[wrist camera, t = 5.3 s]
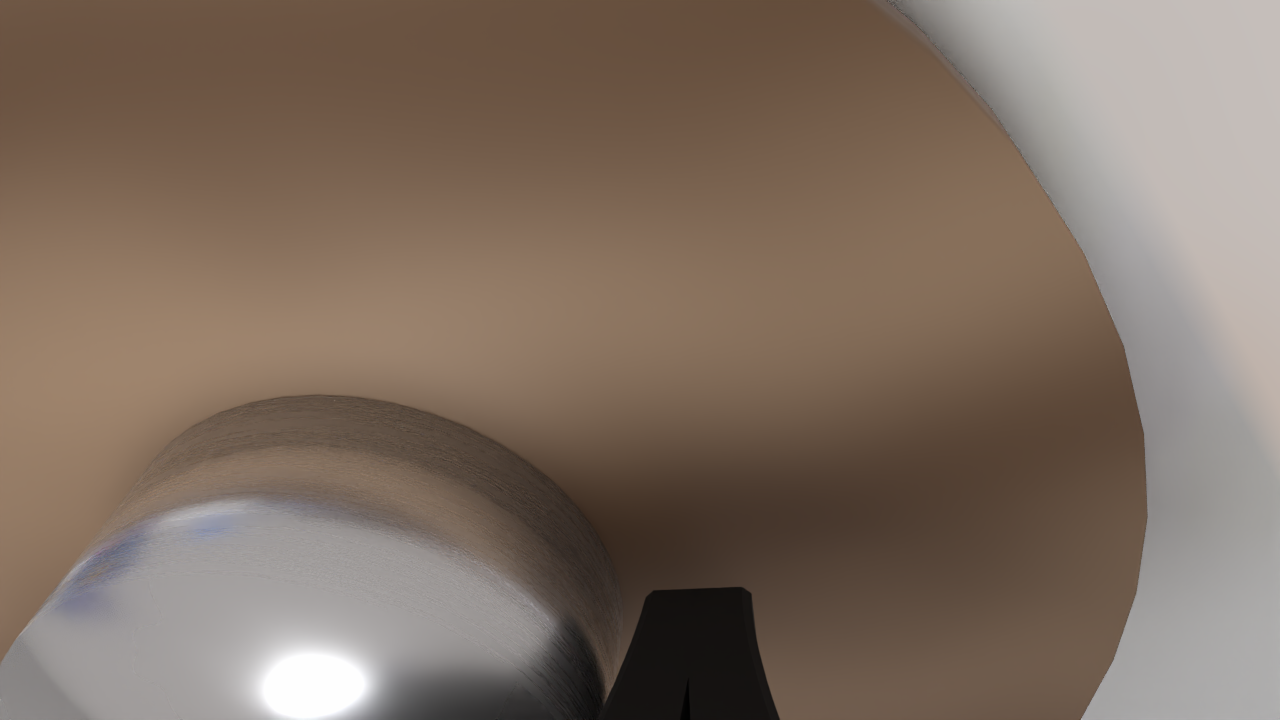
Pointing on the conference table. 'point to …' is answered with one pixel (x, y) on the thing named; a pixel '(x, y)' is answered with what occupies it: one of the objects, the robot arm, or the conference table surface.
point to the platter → (593, 307)
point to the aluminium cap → (328, 581)
